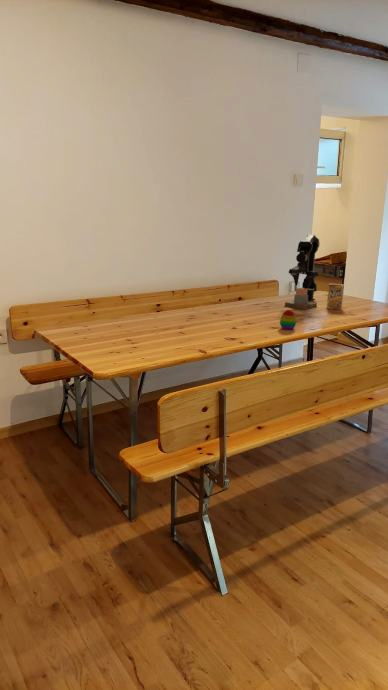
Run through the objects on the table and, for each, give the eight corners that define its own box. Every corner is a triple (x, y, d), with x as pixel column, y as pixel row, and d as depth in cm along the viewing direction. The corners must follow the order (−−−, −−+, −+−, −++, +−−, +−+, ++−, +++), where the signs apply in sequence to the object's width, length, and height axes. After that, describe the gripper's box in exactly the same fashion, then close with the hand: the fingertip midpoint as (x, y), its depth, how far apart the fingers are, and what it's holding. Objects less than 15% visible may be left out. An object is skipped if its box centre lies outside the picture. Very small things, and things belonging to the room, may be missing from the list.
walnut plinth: (299, 303, 330) (299, 299, 330) (316, 307, 320) (316, 303, 319) (284, 306, 322) (285, 302, 321) (302, 309, 311) (302, 305, 311)
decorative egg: (276, 327, 267) (277, 308, 264) (289, 326, 270) (291, 307, 267) (285, 331, 260) (286, 312, 257) (298, 329, 263) (300, 310, 260)
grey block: (300, 301, 324) (300, 293, 323) (307, 302, 320) (308, 295, 318) (294, 302, 320) (294, 294, 319) (301, 304, 316) (302, 296, 315)
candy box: (326, 308, 316) (328, 284, 312) (327, 307, 320) (329, 283, 316) (341, 309, 314) (343, 285, 309) (341, 308, 317) (344, 284, 313)
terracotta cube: (300, 293, 322) (301, 287, 321) (307, 295, 318) (307, 288, 317) (295, 294, 319) (296, 288, 318) (302, 295, 315) (302, 289, 314)
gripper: (283, 260, 315) (282, 285, 319) (307, 263, 301) (305, 289, 305) (295, 259, 322) (293, 284, 326) (319, 262, 308) (317, 288, 312)
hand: (302, 286), depth 317 cm, fingers open, 9 cm apart
